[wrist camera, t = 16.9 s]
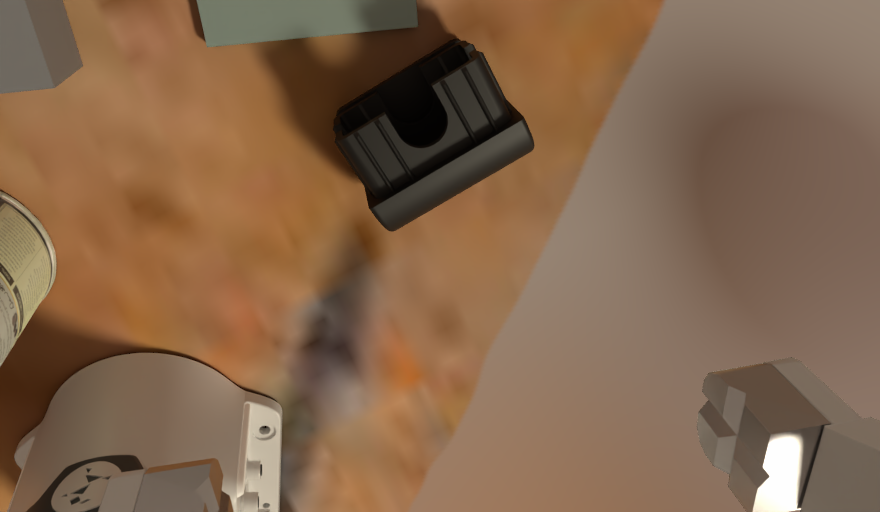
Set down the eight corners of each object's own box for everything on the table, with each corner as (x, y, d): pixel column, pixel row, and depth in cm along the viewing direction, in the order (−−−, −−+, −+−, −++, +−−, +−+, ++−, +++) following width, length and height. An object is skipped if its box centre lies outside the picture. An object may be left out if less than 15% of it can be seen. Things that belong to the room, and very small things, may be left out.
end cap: (384, 204, 45) (396, 250, 39) (325, 115, 42) (329, 152, 36) (514, 127, 44) (547, 163, 38) (465, 30, 41) (493, 53, 35)
